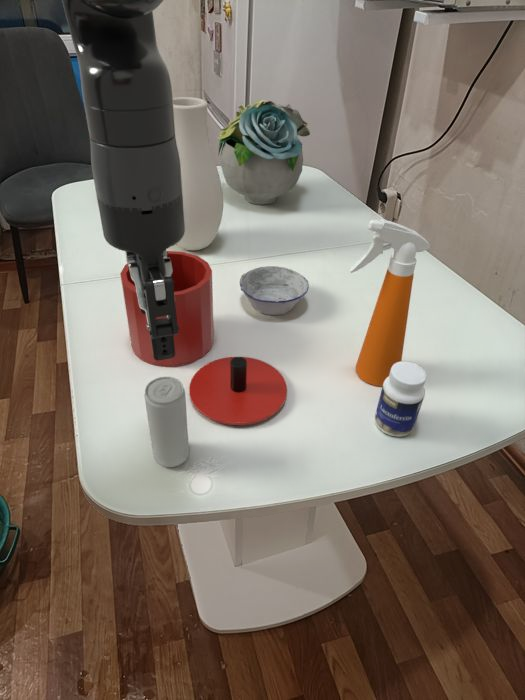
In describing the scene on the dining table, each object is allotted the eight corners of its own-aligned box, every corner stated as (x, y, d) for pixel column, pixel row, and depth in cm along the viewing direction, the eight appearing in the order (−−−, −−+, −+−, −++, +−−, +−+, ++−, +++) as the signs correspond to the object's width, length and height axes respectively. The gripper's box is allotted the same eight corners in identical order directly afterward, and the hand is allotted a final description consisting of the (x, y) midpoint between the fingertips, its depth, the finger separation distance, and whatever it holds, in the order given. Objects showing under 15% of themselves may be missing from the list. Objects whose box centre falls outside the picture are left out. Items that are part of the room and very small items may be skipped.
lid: (260, 442, 70) (261, 411, 67) (170, 406, 75) (167, 375, 71) (301, 379, 81) (304, 349, 77) (220, 351, 86) (219, 321, 82)
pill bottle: (370, 431, 73) (383, 379, 67) (378, 405, 77) (391, 354, 71) (410, 443, 71) (427, 391, 65) (416, 416, 76) (433, 364, 69)
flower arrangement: (319, 193, 143) (329, 98, 128) (283, 226, 125) (291, 120, 110) (240, 176, 151) (241, 85, 136) (196, 205, 133) (192, 104, 118)
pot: (184, 376, 80) (179, 305, 72) (114, 350, 85) (101, 280, 77) (227, 331, 90) (227, 263, 82) (162, 310, 95) (156, 243, 86)
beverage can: (146, 462, 67) (135, 396, 59) (165, 437, 70) (157, 371, 63) (178, 474, 66) (171, 408, 58) (196, 448, 69) (192, 382, 62)
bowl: (268, 331, 91) (269, 308, 88) (225, 299, 98) (225, 277, 95) (320, 307, 97) (323, 285, 94) (276, 279, 105) (278, 258, 102)
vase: (151, 242, 116) (135, 98, 97) (200, 226, 123) (194, 90, 105) (185, 266, 108) (175, 114, 89) (236, 247, 115) (236, 104, 97)
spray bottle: (329, 359, 85) (352, 209, 69) (392, 358, 86) (429, 209, 70) (337, 388, 80) (364, 232, 63) (404, 386, 81) (448, 232, 64)
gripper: (89, 164, 50) (114, 304, 60) (103, 226, 39) (131, 382, 49) (166, 158, 52) (178, 294, 62) (199, 215, 41) (206, 367, 51)
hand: (157, 333), depth 56 cm, fingers open, 8 cm apart
